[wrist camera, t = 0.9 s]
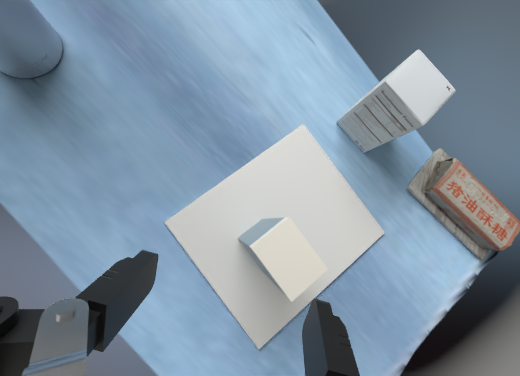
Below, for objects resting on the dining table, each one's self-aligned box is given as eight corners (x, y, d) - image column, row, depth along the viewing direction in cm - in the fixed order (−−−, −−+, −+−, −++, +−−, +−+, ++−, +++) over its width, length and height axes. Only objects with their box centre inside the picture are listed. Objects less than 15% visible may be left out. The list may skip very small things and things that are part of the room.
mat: (164, 222, 34) (164, 222, 34) (302, 124, 40) (303, 123, 40) (258, 348, 34) (258, 349, 34) (383, 232, 40) (384, 232, 40)
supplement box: (361, 96, 43) (420, 46, 30) (389, 128, 43) (459, 90, 31) (334, 122, 41) (384, 79, 29) (363, 154, 41) (425, 126, 29)
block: (237, 237, 35) (251, 247, 22) (262, 218, 36) (289, 217, 23) (262, 271, 35) (291, 302, 22) (286, 251, 36) (328, 268, 23)
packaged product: (534, 216, 40) (507, 264, 38) (500, 217, 45) (475, 259, 43) (458, 141, 40) (426, 184, 38) (432, 149, 44) (403, 189, 42)
